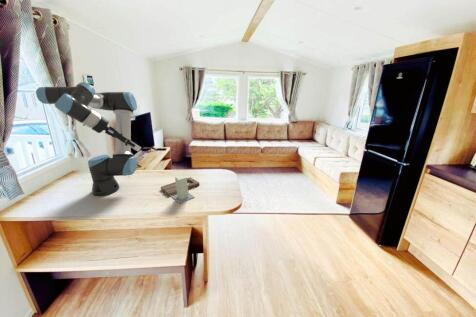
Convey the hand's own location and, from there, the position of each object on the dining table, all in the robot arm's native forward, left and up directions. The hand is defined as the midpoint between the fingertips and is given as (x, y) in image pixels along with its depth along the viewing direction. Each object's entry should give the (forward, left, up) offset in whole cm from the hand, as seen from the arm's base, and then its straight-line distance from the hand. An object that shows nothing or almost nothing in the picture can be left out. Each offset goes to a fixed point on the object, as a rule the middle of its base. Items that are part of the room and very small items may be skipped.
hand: (135, 146), depth 111 cm
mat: (+11, +19, -34) cm, 40 cm away
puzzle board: (-2, +24, -34) cm, 41 cm away
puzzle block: (+11, +19, -33) cm, 40 cm away
